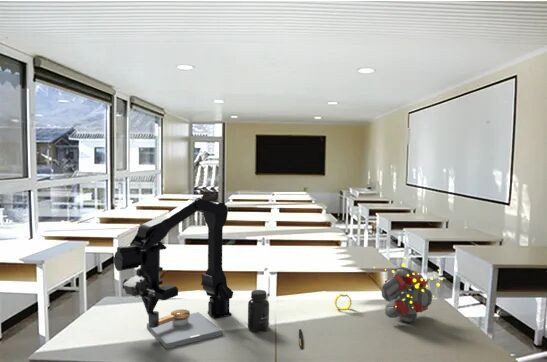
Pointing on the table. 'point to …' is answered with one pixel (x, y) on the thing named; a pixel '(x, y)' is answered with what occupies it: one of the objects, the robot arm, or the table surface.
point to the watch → (343, 296)
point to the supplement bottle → (258, 311)
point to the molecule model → (406, 294)
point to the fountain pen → (300, 339)
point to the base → (185, 330)
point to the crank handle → (167, 317)
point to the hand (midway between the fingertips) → (149, 314)
